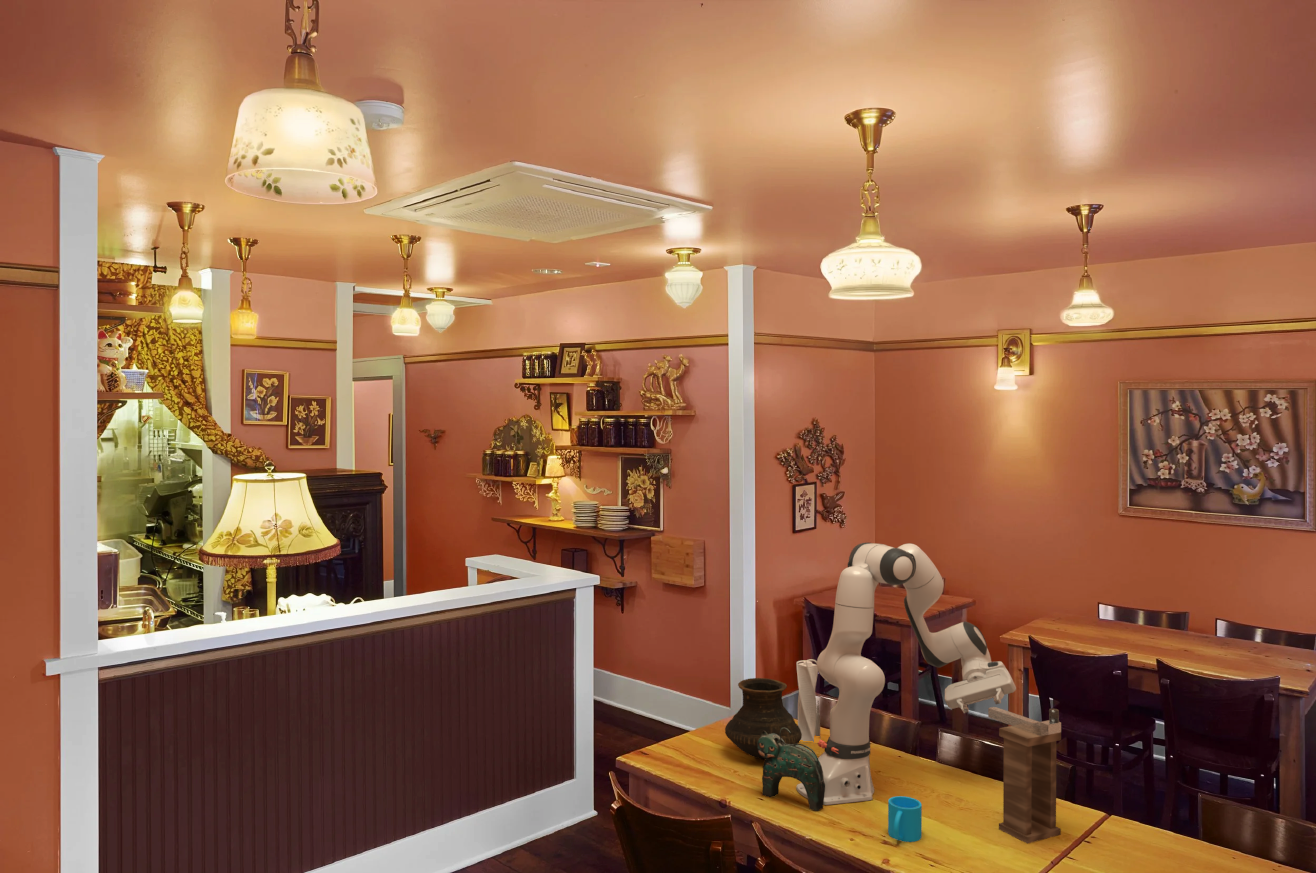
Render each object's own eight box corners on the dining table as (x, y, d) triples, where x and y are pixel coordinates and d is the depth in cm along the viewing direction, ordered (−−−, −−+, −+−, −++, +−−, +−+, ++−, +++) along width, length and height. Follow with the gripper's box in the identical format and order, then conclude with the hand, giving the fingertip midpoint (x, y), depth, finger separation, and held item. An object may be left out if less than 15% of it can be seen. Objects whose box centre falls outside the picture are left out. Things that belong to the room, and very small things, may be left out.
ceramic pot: (711, 756, 276) (711, 685, 276) (750, 737, 295) (750, 670, 295) (778, 774, 261) (778, 699, 262) (814, 752, 281) (814, 682, 281)
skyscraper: (820, 745, 288) (820, 660, 289) (795, 743, 290) (795, 659, 290) (820, 737, 297) (821, 654, 297) (796, 735, 298) (797, 653, 299)
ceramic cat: (755, 794, 246) (755, 723, 246) (767, 788, 251) (768, 718, 251) (817, 814, 233) (817, 739, 233) (829, 806, 238) (829, 733, 238)
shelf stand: (1027, 843, 217) (1027, 738, 217) (998, 829, 225) (999, 728, 225) (1060, 834, 222) (1061, 732, 223) (1031, 820, 230) (1031, 722, 231)
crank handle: (988, 717, 235) (988, 696, 235) (1007, 713, 238) (1007, 693, 238) (1041, 735, 219) (1041, 714, 219) (1061, 732, 223) (1061, 710, 223)
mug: (893, 825, 227) (893, 793, 227) (925, 832, 222) (925, 800, 223) (879, 842, 217) (879, 809, 217) (911, 850, 212) (912, 817, 212)
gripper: (940, 678, 265) (941, 707, 252) (1006, 659, 257) (1011, 687, 244) (949, 695, 266) (950, 724, 254) (1015, 676, 258) (1020, 705, 246)
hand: (981, 706), depth 249 cm, fingers open, 8 cm apart
